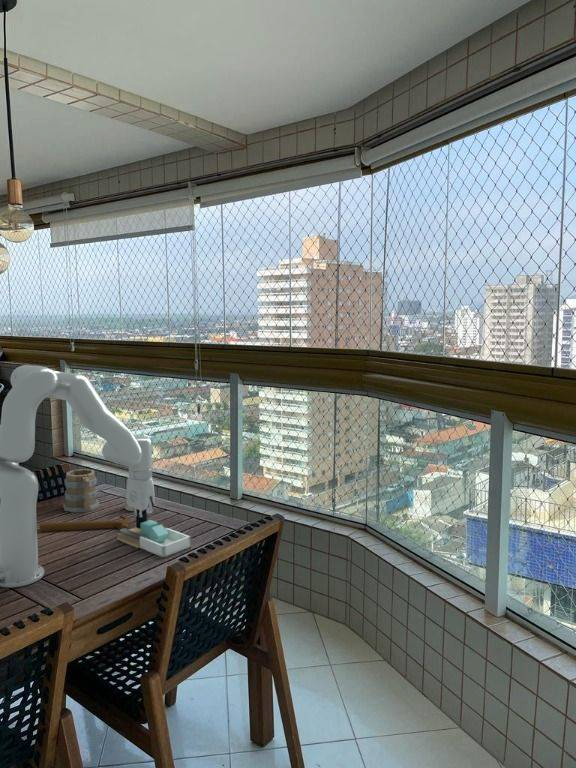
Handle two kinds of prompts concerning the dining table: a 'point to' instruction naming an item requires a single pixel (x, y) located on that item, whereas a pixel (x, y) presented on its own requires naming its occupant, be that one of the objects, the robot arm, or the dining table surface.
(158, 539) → the light teal cube
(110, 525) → the hammer
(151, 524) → the teal cube block
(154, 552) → the tray
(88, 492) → the tankard
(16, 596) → the dining table surface
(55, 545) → the dining table surface
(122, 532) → the slot board
